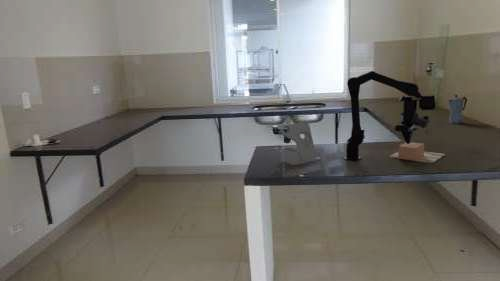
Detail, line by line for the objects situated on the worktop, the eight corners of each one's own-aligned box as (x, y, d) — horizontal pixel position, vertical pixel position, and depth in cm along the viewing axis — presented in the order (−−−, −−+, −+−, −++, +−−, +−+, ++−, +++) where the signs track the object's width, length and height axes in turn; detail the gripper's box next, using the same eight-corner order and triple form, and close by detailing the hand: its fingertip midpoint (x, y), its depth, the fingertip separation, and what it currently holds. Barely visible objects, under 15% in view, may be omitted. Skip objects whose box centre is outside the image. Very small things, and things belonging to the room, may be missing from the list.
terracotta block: (415, 148, 170) (424, 143, 178) (398, 146, 176) (407, 141, 184) (415, 160, 172) (423, 155, 179) (398, 158, 177) (406, 153, 185)
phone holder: (293, 165, 175) (292, 127, 172) (281, 161, 184) (280, 125, 180) (321, 159, 184) (321, 123, 180) (308, 155, 192) (308, 121, 189)
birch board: (432, 163, 168) (432, 162, 168) (389, 157, 182) (389, 156, 182) (444, 155, 181) (444, 154, 181) (403, 150, 194) (403, 149, 194)
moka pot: (442, 122, 268) (443, 94, 264) (458, 120, 272) (460, 93, 268) (452, 124, 259) (454, 95, 255) (470, 122, 264) (472, 94, 259)
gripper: (420, 114, 158) (418, 149, 162) (435, 109, 172) (433, 142, 175) (394, 112, 166) (393, 146, 169) (410, 107, 179) (408, 139, 182)
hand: (408, 143), depth 174 cm, fingers closed
